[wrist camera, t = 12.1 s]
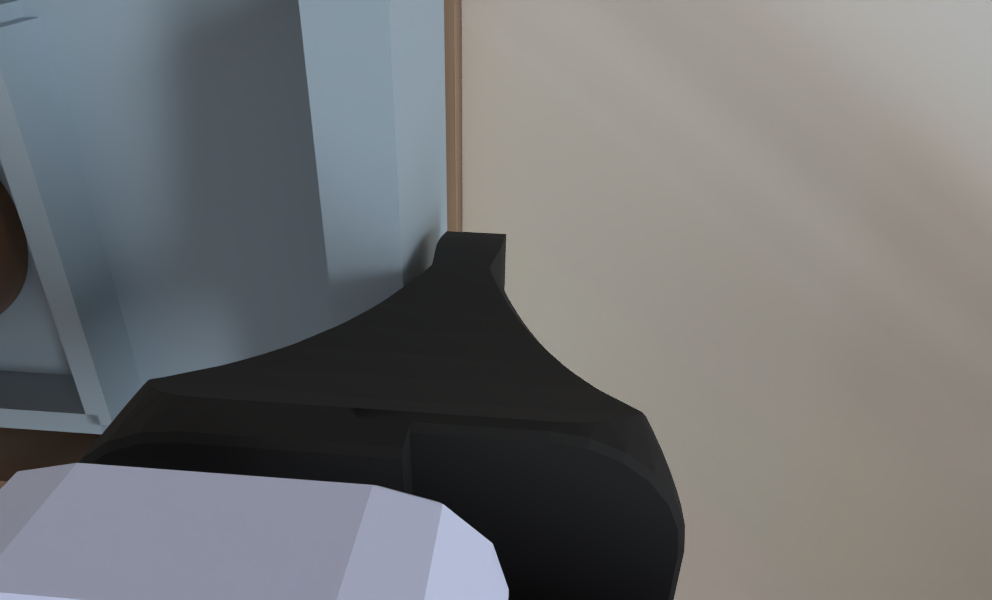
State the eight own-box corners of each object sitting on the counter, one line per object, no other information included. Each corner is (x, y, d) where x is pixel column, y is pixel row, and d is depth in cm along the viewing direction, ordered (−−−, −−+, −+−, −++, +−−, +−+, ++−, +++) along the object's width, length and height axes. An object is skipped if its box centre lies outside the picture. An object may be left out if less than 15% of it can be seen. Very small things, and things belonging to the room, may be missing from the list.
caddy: (460, -134, 12) (426, -138, 9) (463, 430, 18) (443, 541, 15) (-435, -154, 13) (-740, -164, 10) (-148, 388, 19) (-282, 485, 16)
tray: (443, -51, 11) (387, -18, 8) (450, 428, 16) (418, 585, 13) (-410, -75, 12) (-816, -56, 9) (-160, 386, 17) (-354, 522, 14)
